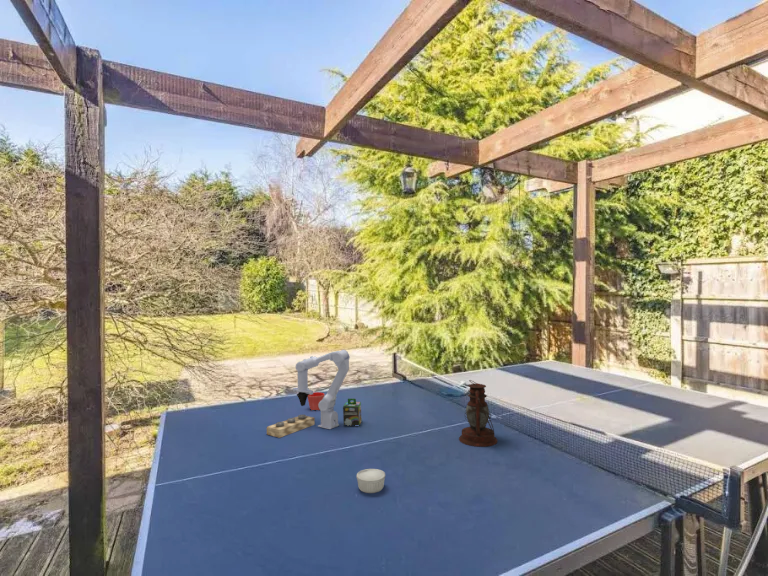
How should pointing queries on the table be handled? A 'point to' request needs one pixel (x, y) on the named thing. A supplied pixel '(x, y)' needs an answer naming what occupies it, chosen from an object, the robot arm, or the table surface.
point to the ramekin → (370, 480)
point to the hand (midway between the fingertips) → (303, 405)
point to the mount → (290, 427)
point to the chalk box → (352, 413)
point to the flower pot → (315, 400)
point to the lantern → (477, 419)
